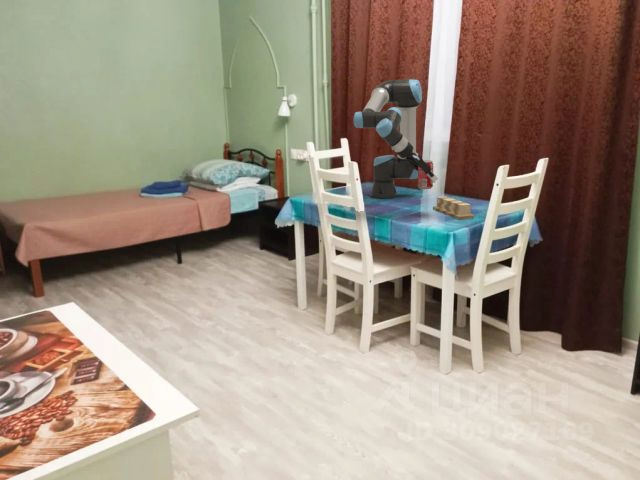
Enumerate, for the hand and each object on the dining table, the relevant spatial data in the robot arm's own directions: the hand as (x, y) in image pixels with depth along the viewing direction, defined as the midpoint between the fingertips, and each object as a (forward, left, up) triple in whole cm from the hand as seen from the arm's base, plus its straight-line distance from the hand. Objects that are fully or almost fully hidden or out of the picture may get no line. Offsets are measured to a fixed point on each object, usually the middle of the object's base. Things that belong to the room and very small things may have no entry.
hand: (431, 179), depth 247 cm
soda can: (0, -4, -4) cm, 6 cm away
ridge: (+3, +10, -17) cm, 20 cm away
